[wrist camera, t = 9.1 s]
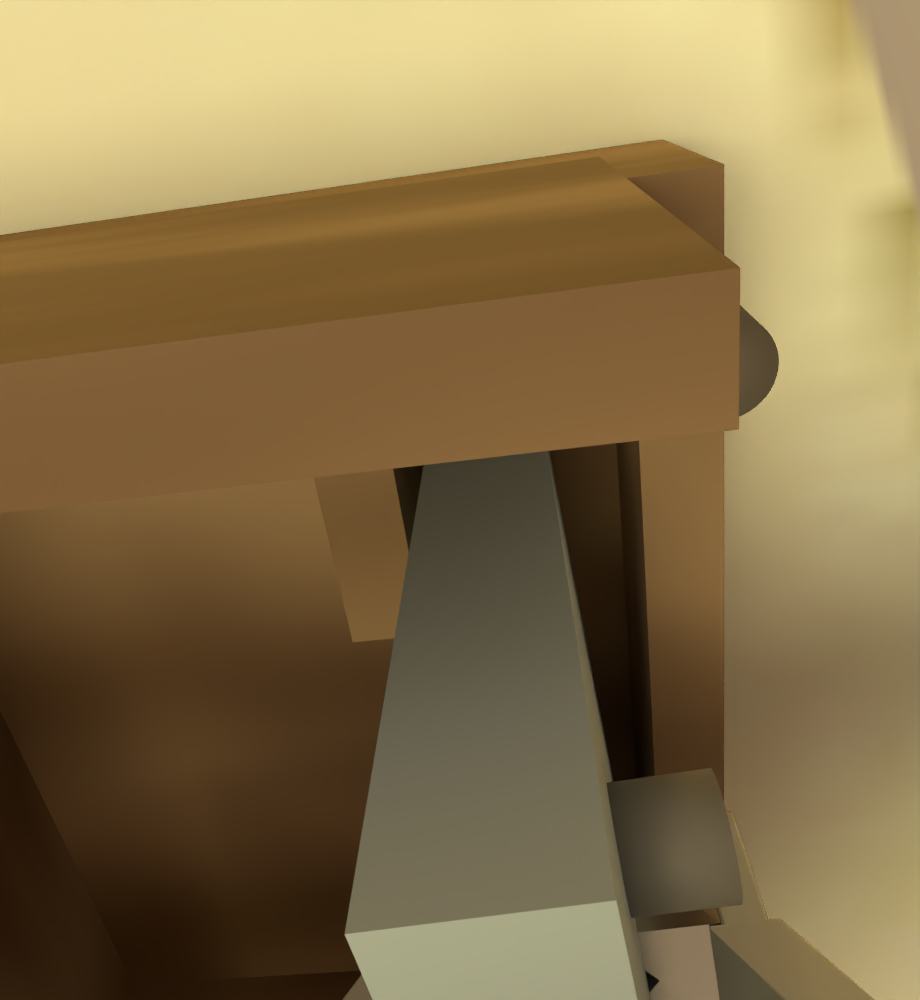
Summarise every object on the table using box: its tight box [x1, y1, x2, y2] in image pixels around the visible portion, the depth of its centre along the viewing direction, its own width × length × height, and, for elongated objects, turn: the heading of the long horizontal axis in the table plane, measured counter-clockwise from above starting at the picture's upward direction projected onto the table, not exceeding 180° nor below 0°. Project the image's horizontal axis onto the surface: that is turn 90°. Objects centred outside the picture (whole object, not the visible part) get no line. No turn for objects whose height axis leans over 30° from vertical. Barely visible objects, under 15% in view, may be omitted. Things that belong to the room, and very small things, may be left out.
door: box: [345, 451, 743, 1000], centre depth 11 cm, size 11×3×8 cm, turn 13°
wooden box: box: [0, 140, 779, 1000], centre depth 13 cm, size 17×14×8 cm
